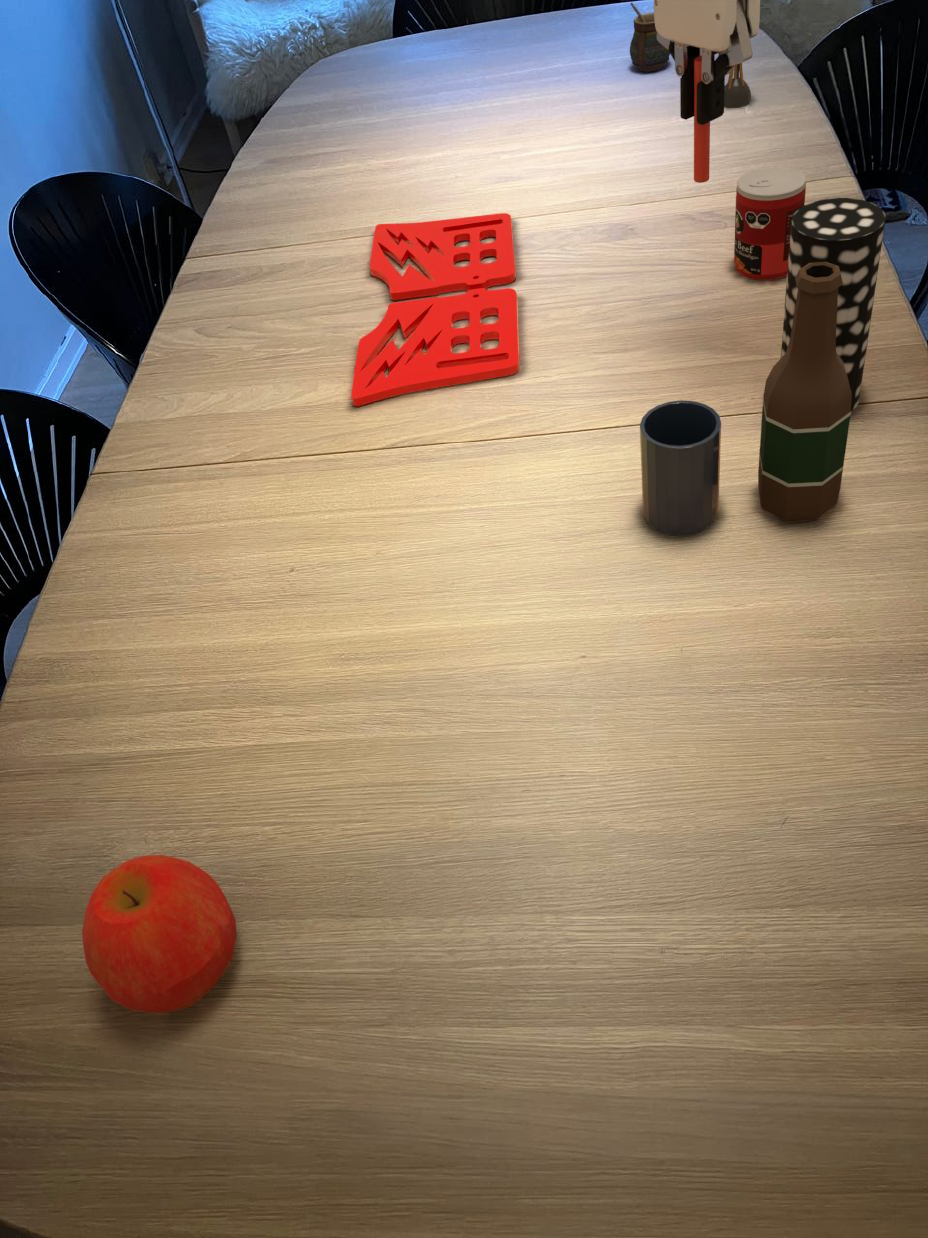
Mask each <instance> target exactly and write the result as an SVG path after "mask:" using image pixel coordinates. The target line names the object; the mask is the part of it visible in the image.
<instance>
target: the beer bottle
mask: <svg viewBox="0 0 928 1238" xmlns="http://www.w3.org/2000/svg"><path fill="white" fill-rule="evenodd" d="M795 281H796V285H797V288H798V292H797V299H796V305H795V311H794V318H793V324H792V331H791V337H790V341H789V344H788V348H787V351H786V353H785V354H784V356H783V357H782V358H781V357H780V358H779V360H778V361H777V362H776V363H775V364H773V366H772V368H771V369H770V372H769V374H768V376H767V378H766V379H765V384H764V390H763V396H762V408H761V409H762V411H761V424H760V425H761V426H760V439H759V440H760V441H759V456H758V469H757V470H758V471H757V476H758V477H757V480H758V482H757V486H758V489H757V490H758V495H759V502H760V508H761V509H762V510H763V511H765V512H766V513H769V514H770V515H772V516H774V517H776V518H778V519H779V520H782V521H784V522H786V523H787V522H809V521H817V520H818V519H820V518H822V516H824V515H825V514H826V513H828V512H829V511H830V510H831V509H832V508H834V507H835V506H836V505H837V504H838V501H839V498H840V497H839V495H840V491H841V486H842V481H843V480H842V479H843V471H844V466H845V459H846V458H845V457H846V450H847V443H848V435H849V430H850V421H851V415H852V412H851V401H852V393H851V389H850V385H849V381H848V377H847V374H846V370H845V366H844V363H843V361H842V359H841V358H840V357H839V355H838V354H837V352H836V325H837V304H838V287H840V286H841V285H843V282H842V277H841V272H840V269H839V266H837V265H834V264H831V263H828V262H816V263H809V264H807V265H805V266H804V267H802V268H801V269H799V271H798V273H797V276H796V278H795Z"/></svg>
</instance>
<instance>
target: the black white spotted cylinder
mask: <svg viewBox="0 0 928 1238" xmlns="http://www.w3.org/2000/svg"><path fill="white" fill-rule="evenodd" d="M886 219H887V216H886V212H885V211H884V210H883V208H882V207H880V206H879V205H877V204H875V203H873V202H871V201H867V200H866V199H865V200H864V199H859V198H854V197H831V198H825V199H819V200H816V201H812V202H810V203H807V204H804V206H803V207H801V208H800V209H798V210H797V211H796V212H795V213H794V215H793V216H792V220H791V232H790V245H789V257H788V270H787V276H786V284H785V298H784V308H783V309H784V310H783V324H782V335H781V336H782V337H781V347H780V348H781V349H780V359H781V358H782V357H783V356H784V354H785V353H786V351H787V348H788V344H789V341H790V337H791V331H792V324H793V318H794V311H795V305H796V299H797V292H798V288H797V285H796V281H795V278H796V276H797V273H798V271H799V269H801V268H802V267H804V266H805V265H807V264H809V263H816V262H828V263H831V264H834V265H837V266H839V269H840V272H841V277H842V282H843V285H841V286H840V287H838V304H837V325H836V352H837V354H838V355H839V357H840V358H841V359H842V361H843V363H844V366H845V370H846V374H847V377H848V381H849V385H850V389H851V393H852V401H851V413H852V412H853V411H854V410H855V409H856V408H857V407H858V405H859V403H860V397H861V390H862V384H863V383H862V381H863V377H864V370H865V363H866V356H867V349H868V341H869V335H870V329H871V321H872V314H873V310H874V309H873V308H874V300H875V293H876V288H877V280H878V274H879V267H880V259H881V252H882V245H883V240H884V239H883V238H884V233H885V226H886Z"/></svg>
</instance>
